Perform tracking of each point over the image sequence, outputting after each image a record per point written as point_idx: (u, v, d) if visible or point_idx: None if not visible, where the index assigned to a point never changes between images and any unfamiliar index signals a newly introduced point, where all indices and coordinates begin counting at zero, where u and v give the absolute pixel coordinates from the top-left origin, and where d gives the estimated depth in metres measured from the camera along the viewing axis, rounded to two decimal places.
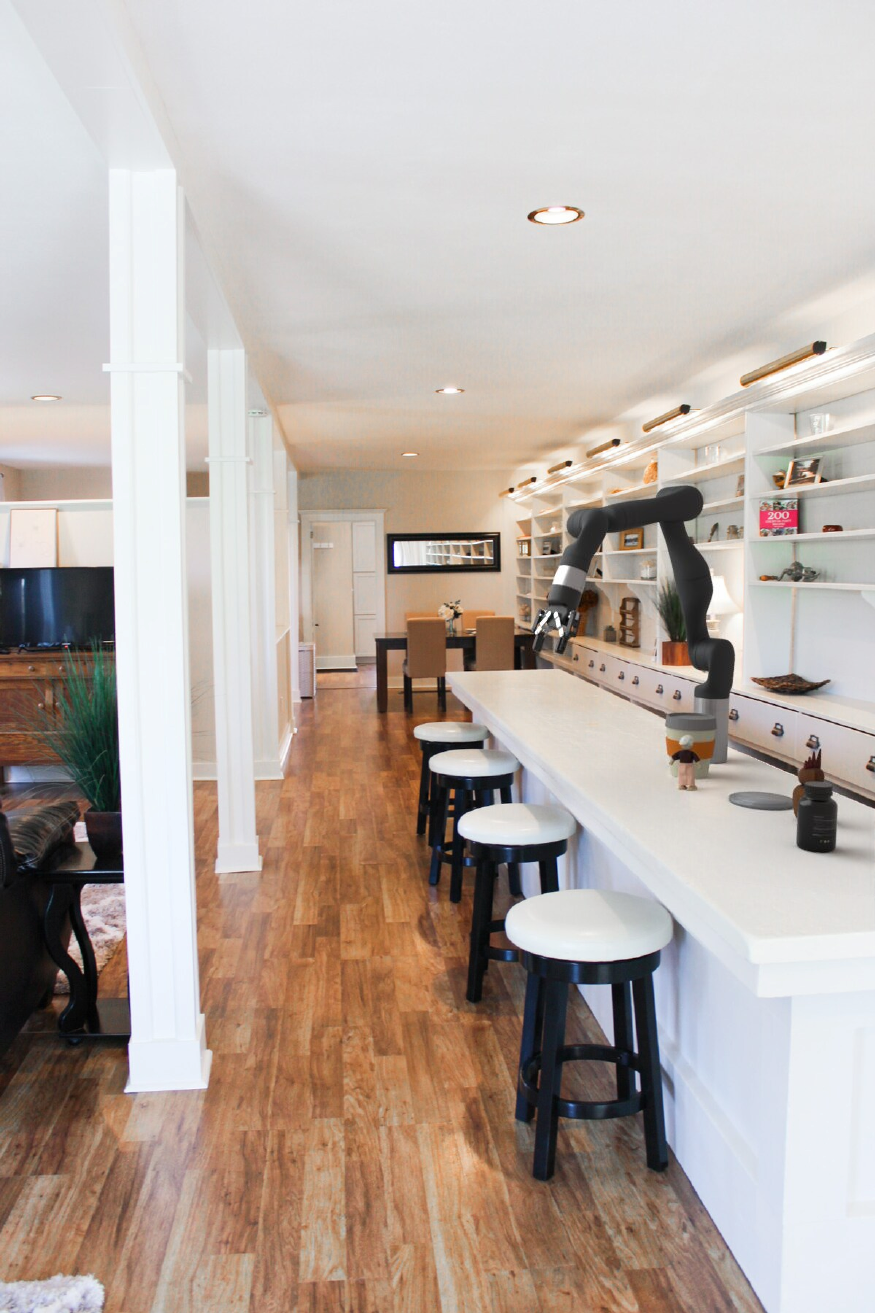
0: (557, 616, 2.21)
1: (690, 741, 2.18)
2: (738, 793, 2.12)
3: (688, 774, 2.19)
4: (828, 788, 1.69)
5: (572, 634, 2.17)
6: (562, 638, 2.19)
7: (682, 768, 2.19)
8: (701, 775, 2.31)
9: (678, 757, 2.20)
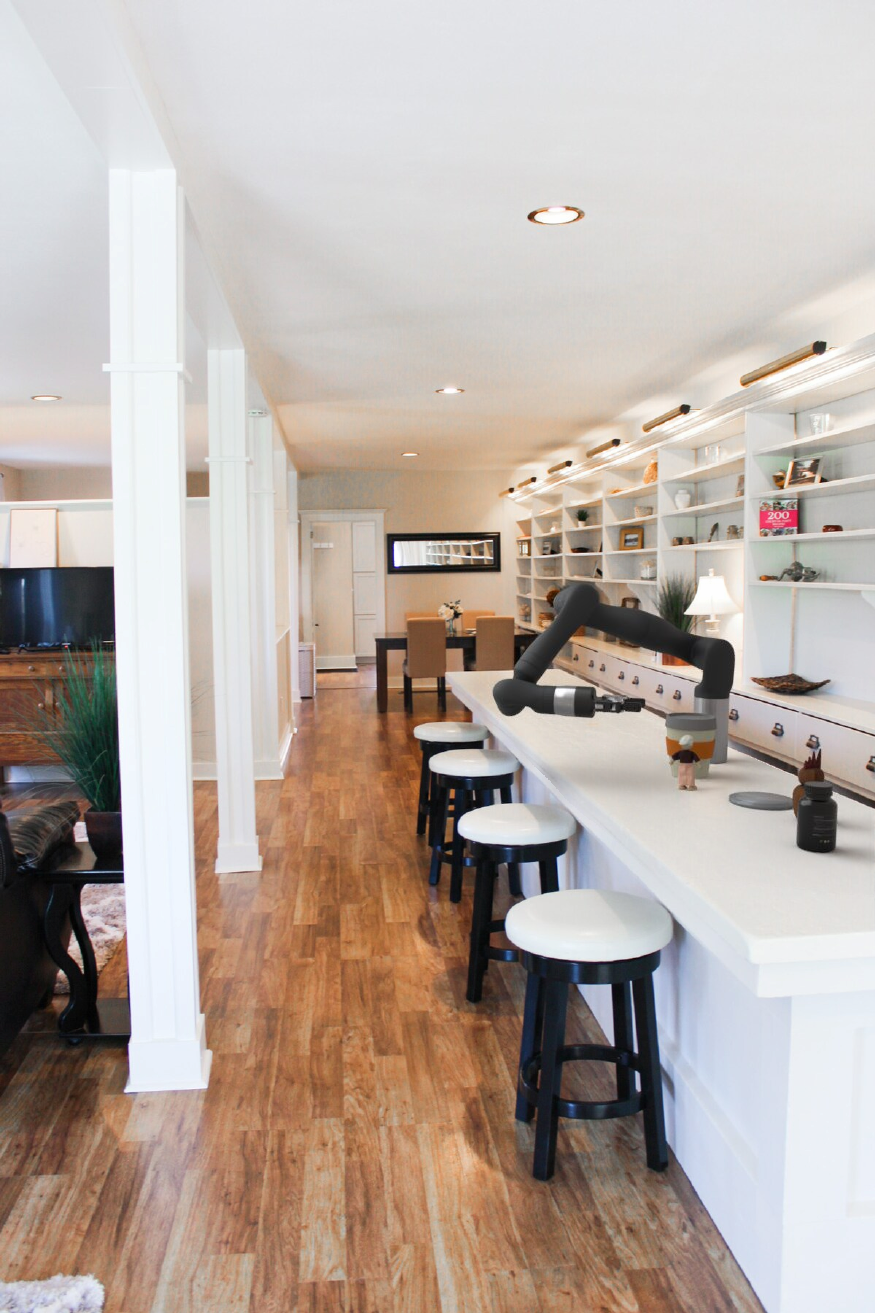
0: None
1: (690, 741, 2.18)
2: (738, 793, 2.12)
3: (688, 774, 2.19)
4: (828, 788, 1.69)
5: (618, 707, 2.17)
6: (625, 710, 2.18)
7: (682, 768, 2.19)
8: (701, 775, 2.31)
9: (678, 757, 2.20)
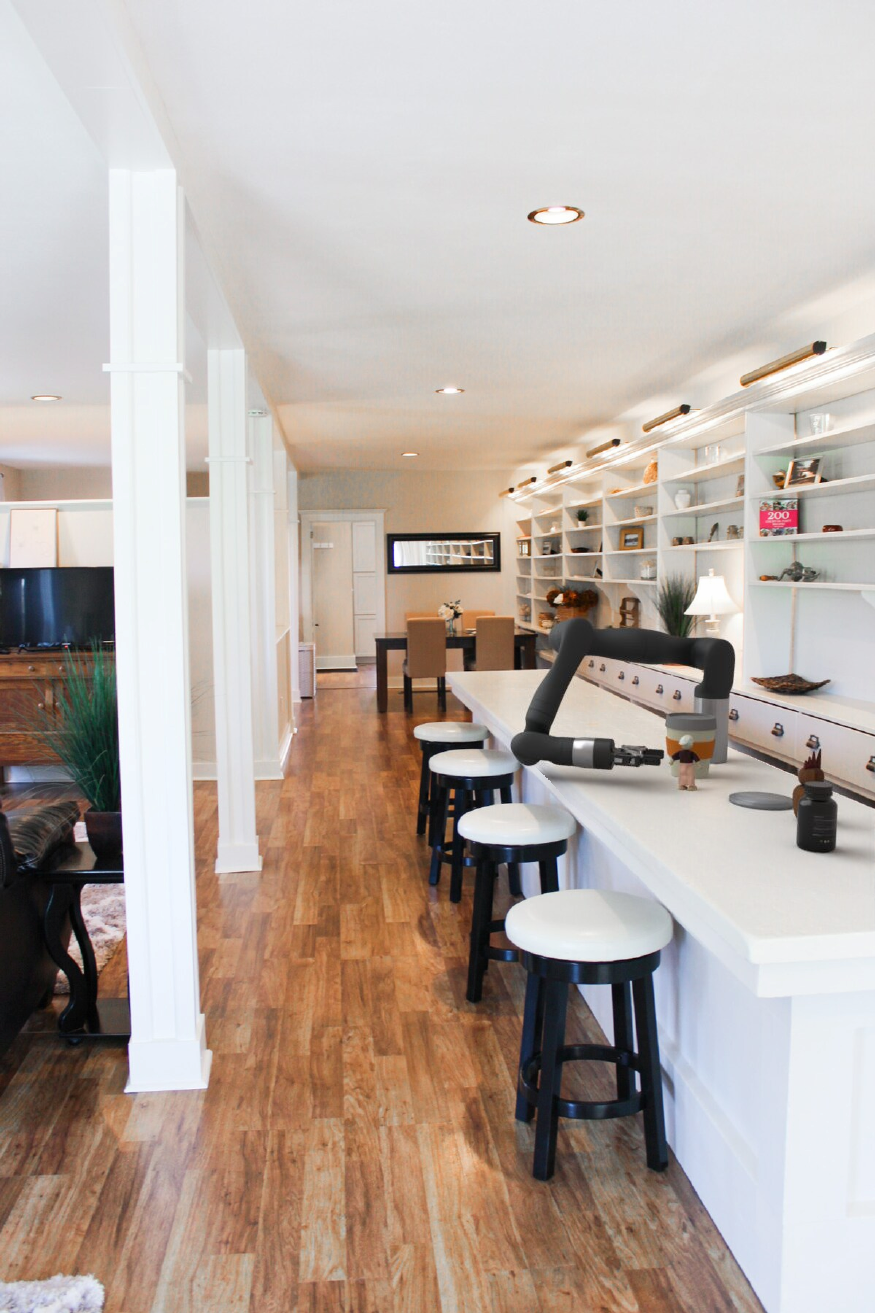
0: None
1: (690, 741, 2.18)
2: (738, 793, 2.12)
3: (688, 774, 2.19)
4: (828, 788, 1.69)
5: (637, 761, 2.17)
6: (644, 763, 2.18)
7: (682, 768, 2.19)
8: (701, 775, 2.31)
9: (678, 757, 2.20)
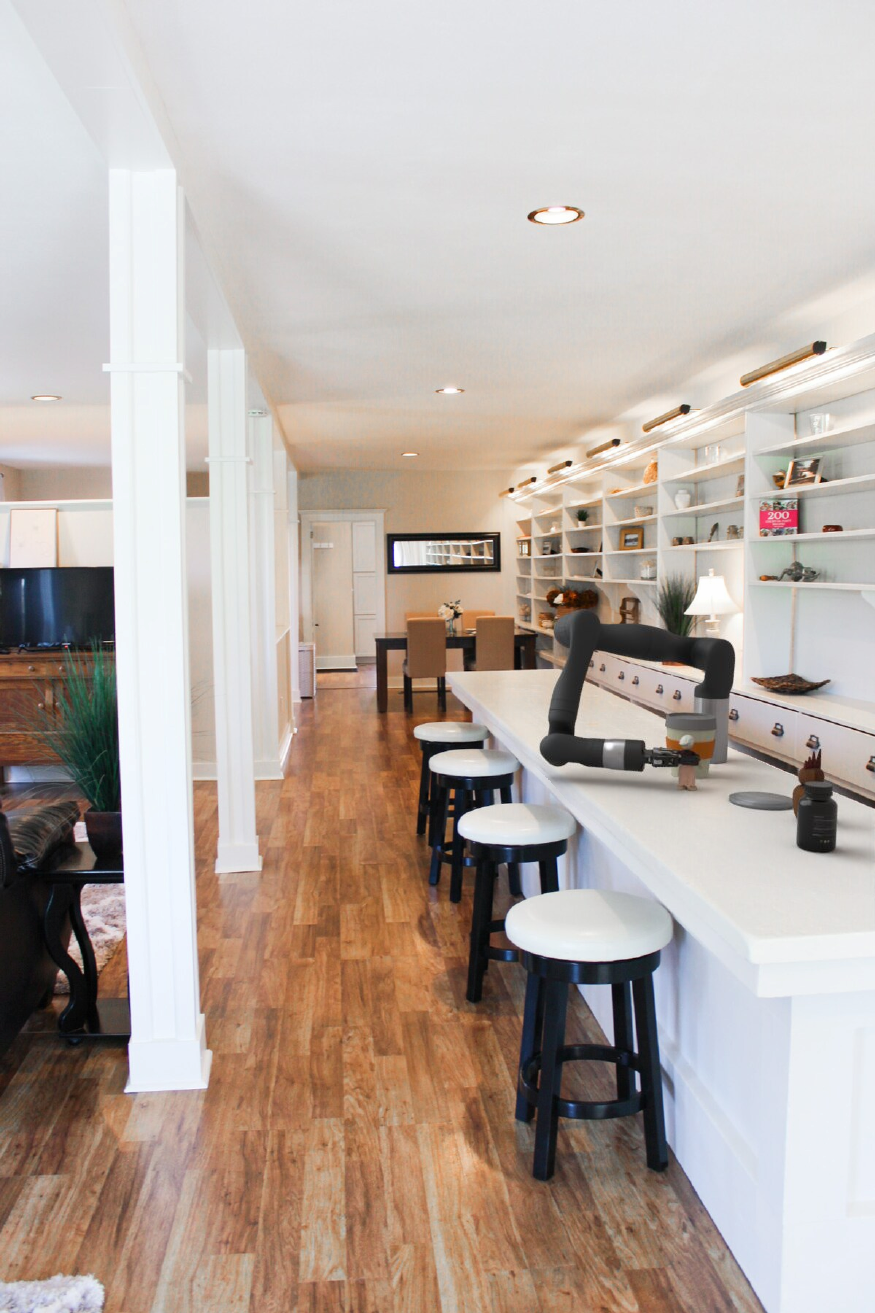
0: None
1: (690, 741, 2.18)
2: (738, 793, 2.12)
3: (688, 773, 2.19)
4: (828, 788, 1.69)
5: (677, 761, 2.16)
6: (682, 763, 2.18)
7: (682, 768, 2.19)
8: (701, 775, 2.31)
9: None
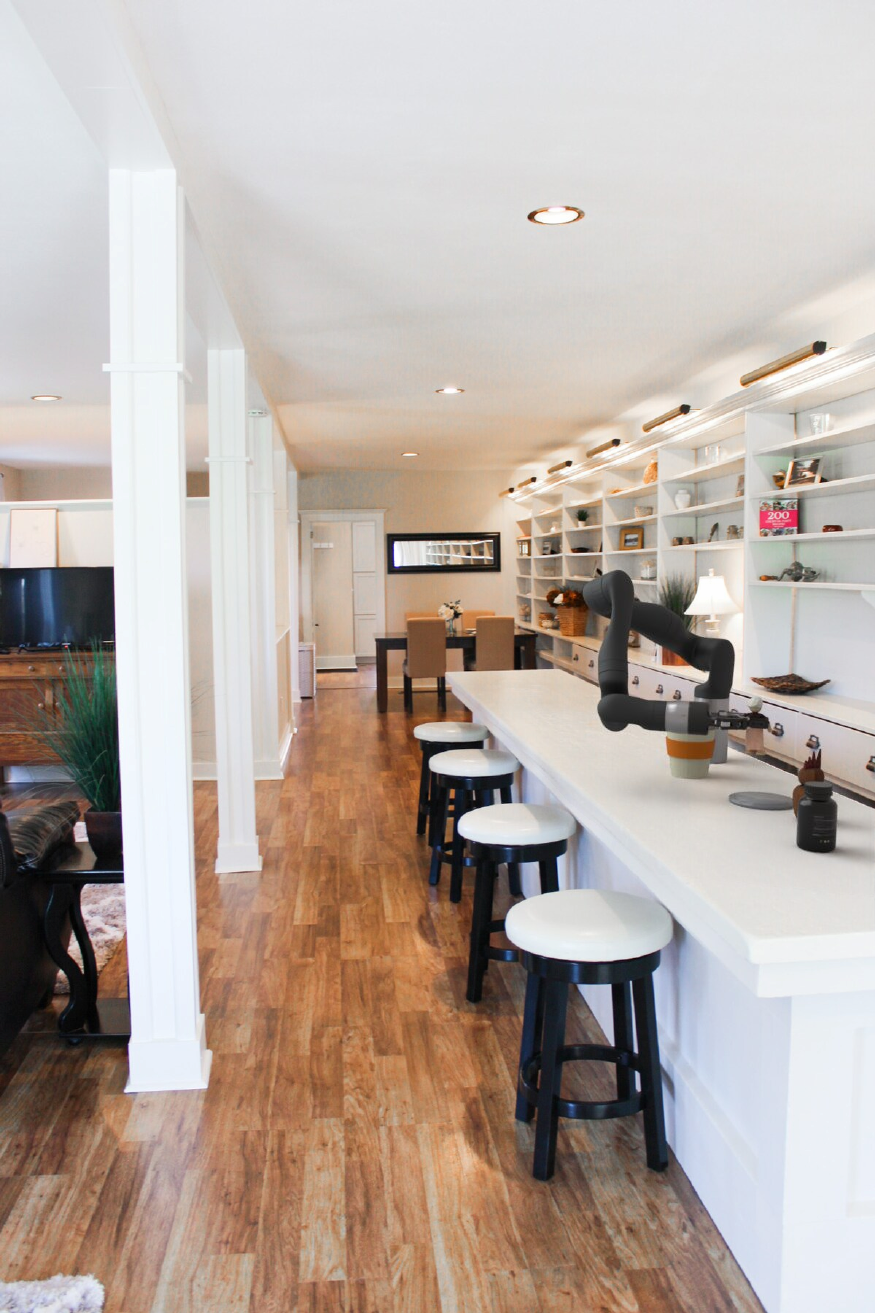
0: None
1: (759, 703, 2.06)
2: (738, 793, 2.12)
3: (756, 737, 2.07)
4: (828, 788, 1.69)
5: (746, 724, 2.04)
6: (751, 726, 2.05)
7: (750, 731, 2.07)
8: (701, 775, 2.31)
9: None
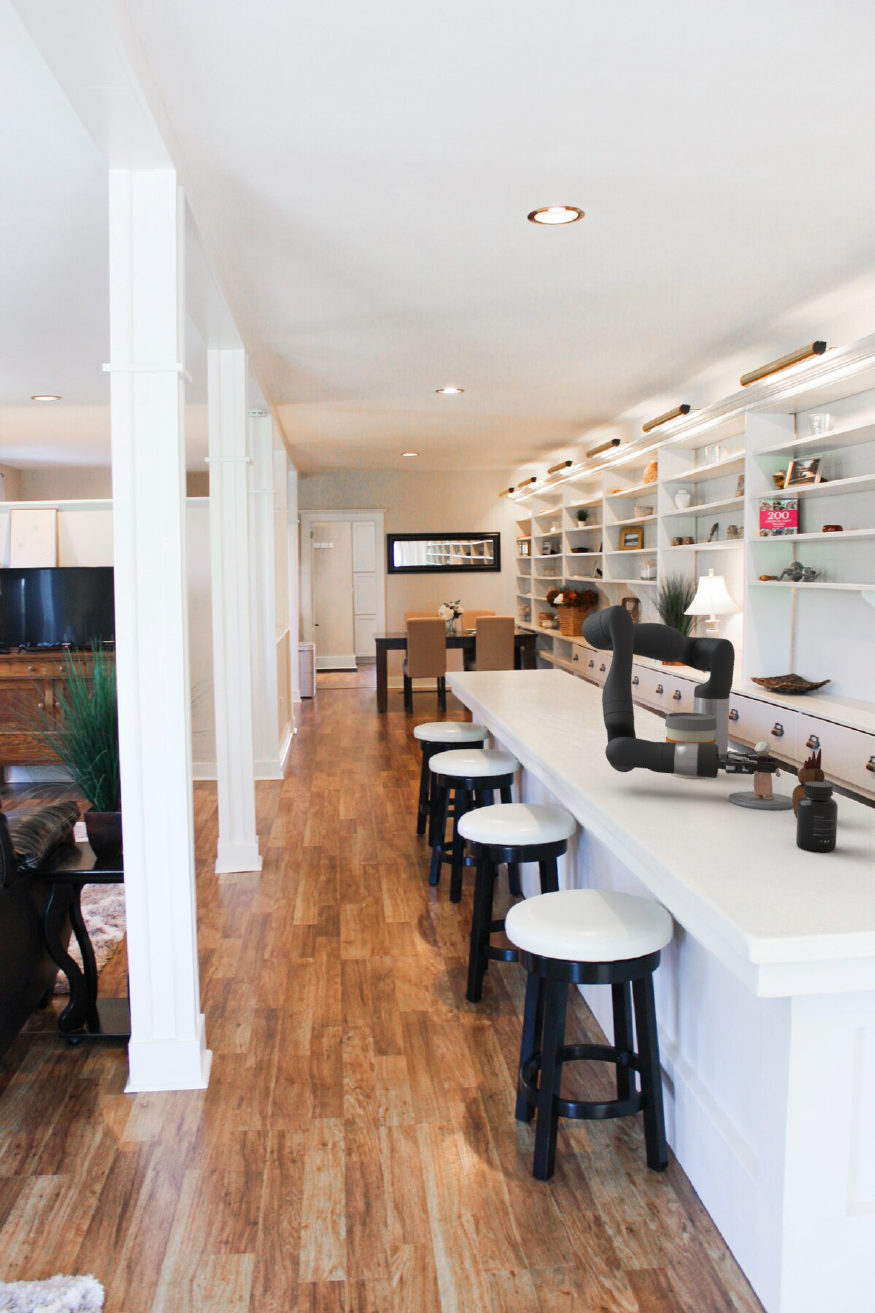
0: None
1: (767, 747, 2.05)
2: (738, 793, 2.12)
3: (765, 782, 2.06)
4: (828, 788, 1.69)
5: (752, 768, 2.02)
6: (758, 770, 2.04)
7: (758, 776, 2.07)
8: None
9: None
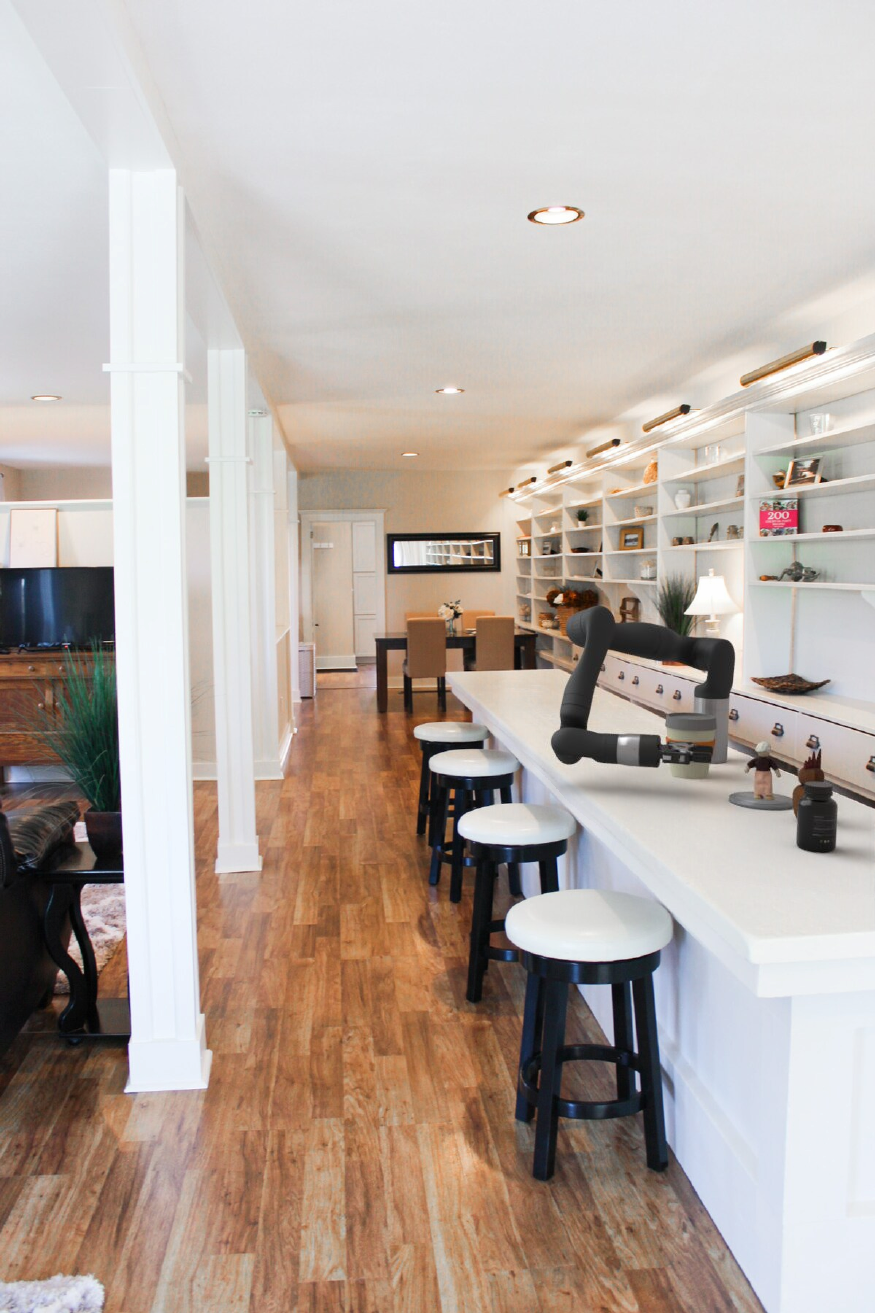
0: None
1: (768, 748, 2.05)
2: (738, 793, 2.12)
3: (765, 782, 2.06)
4: (828, 788, 1.69)
5: (687, 759, 2.06)
6: (694, 760, 2.07)
7: (759, 776, 2.07)
8: (701, 775, 2.31)
9: (754, 765, 2.07)
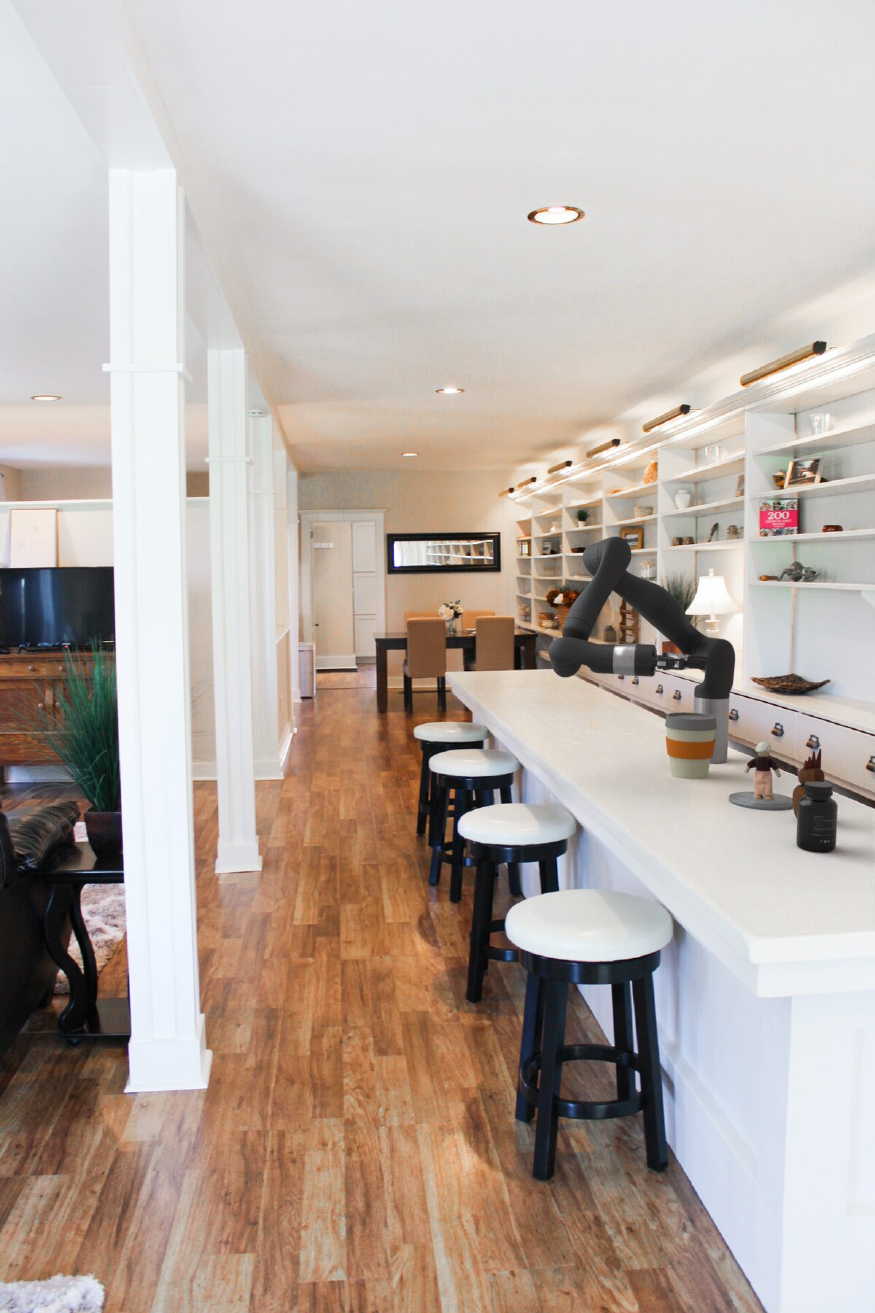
0: (667, 669, 2.16)
1: (768, 748, 2.05)
2: (738, 793, 2.12)
3: (765, 782, 2.06)
4: (828, 788, 1.69)
5: (682, 664, 2.10)
6: (688, 666, 2.11)
7: (759, 776, 2.07)
8: (701, 775, 2.31)
9: (754, 765, 2.07)
